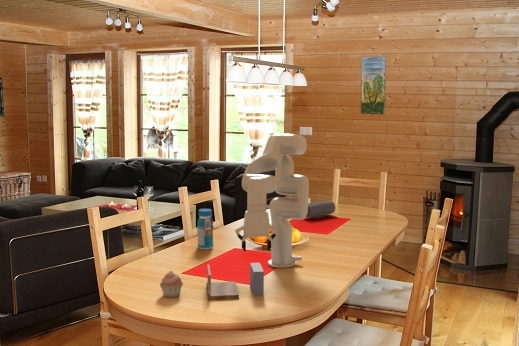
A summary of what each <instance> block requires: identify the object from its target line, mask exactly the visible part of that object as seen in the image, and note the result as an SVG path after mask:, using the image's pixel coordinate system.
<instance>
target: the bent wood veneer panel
mask: <svg viewBox="0 0 519 346" xmlns="http://www.w3.org/2000/svg"><path fill="white" fill-rule="evenodd" d="M206 266H207V267H206V269H207V270H206V271H207V273H206V274H207V281H206V285H205V286H206V295H207V300H208V301H212V300H214V301H215V300H235V299H236V300H237V299H240V294H239V290H238V287H237V283H236V281H220V282H219V281H217V282H212V277H211V274H212V273H211V269H210V268H211V267H210V264H207V265H206Z"/></svg>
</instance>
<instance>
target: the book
mask: <svg viewBox="0 0 519 346" xmlns="http://www.w3.org/2000/svg"><path fill="white" fill-rule="evenodd" d="M249 266H250V267H249V274H250V275H249V278H250V279H249V282H250V283H249V287H250V289H251V292H252V296H253V297H264V292H265V291H264V289H265V287H264V285H265V277H264V276H265V275H264V274H265V272H264V269H263V267H262V264H261V263H260V262H250V263H249Z"/></svg>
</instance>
